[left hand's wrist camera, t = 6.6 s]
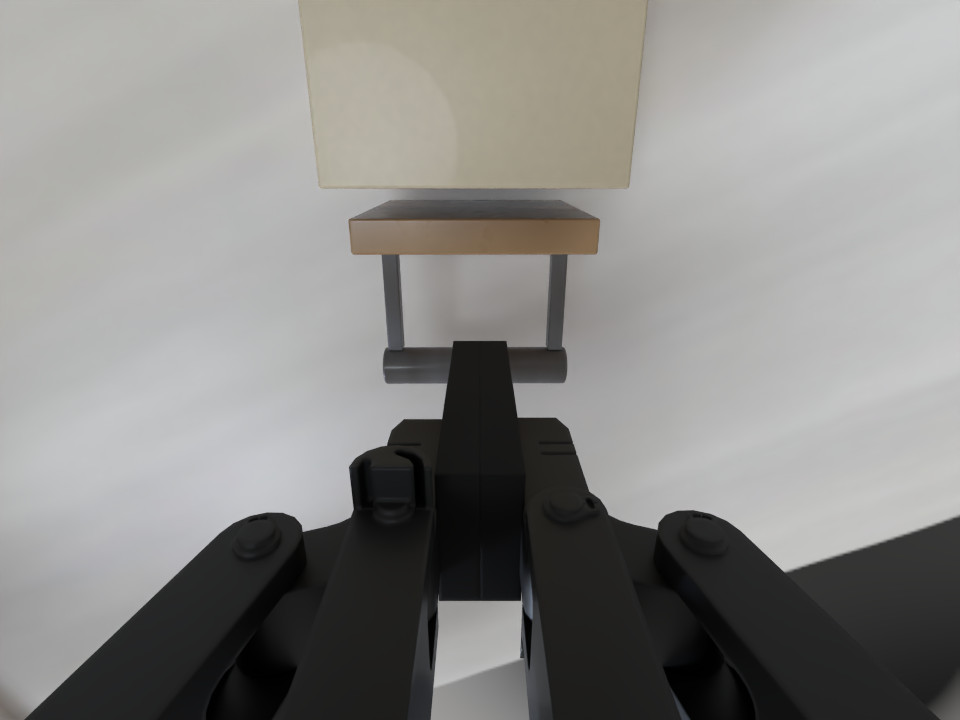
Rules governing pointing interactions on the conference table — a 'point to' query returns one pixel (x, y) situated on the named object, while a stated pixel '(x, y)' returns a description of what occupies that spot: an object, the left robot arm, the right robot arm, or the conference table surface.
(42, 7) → the conference table surface
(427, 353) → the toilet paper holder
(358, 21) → the cabinet
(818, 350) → the conference table surface
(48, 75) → the conference table surface
